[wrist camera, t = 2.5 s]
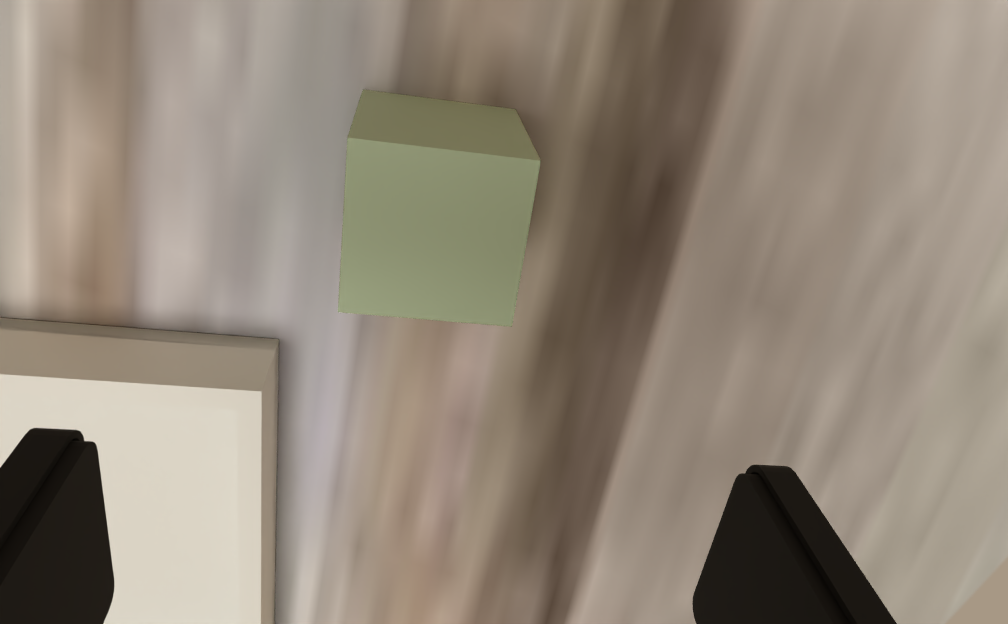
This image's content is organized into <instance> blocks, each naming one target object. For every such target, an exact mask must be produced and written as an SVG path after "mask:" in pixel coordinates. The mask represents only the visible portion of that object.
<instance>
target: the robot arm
mask: <svg viewBox="0 0 1008 624" xmlns="http://www.w3.org/2000/svg"><path fill="white" fill-rule="evenodd" d="M113 594H114V574H113V566H112V558H111V550H110V542H109V535H108V527H107V519H106V511H105V504H104V496H103V488H102V480H101V472H100V465H99V457H98V450H97V445H96V444H95V442H92V441H84V437H83V434H82V433H81V431H79V430H70V429H50V428H33V429H30V430H29V431H28V432H27V433H26V434H25V435H24V437H23V438H22V439H21V441H20V442H19V443H18V445H17V446H16V447H15V449H14V450H13V451H12V453H11V454H10V455H9V457H8V458H7V459H6V461H5V462H4V463H3V465H2V466H1V467H0V624H103V623H104V621H105V618H106V616H107V614H108V612H109V609H110V606H111V603H112V599H113ZM693 613H694V618H695V621H696V623H697V624H897V623H896V622H895V620H894V619H893V617H892V616H891V614H890V613H889V611H888V610H887V608H886V607H885V606H884V604H883V603H882V601H881V600H880V598H879V597H878V595H877V594H876V592H875V591H874V589H873V588H872V586H871V585H870V583H869V582H868V580H867V579H866V577H865V576H864V574H863V573H862V571H861V570H860V568H859V567H858V565H857V564H856V562H855V561H854V559H853V558H852V556H851V555H850V553H849V552H848V550H847V549H846V547H845V546H844V544H843V543H842V541H841V540H840V538H839V537H838V535H837V534H836V533H835V531H834V530H833V528H832V527H831V525H830V524H829V522H828V521H827V519H826V518H825V516H824V515H823V513H822V512H821V510H820V509H819V507H818V506H817V504H816V503H815V501H814V500H813V498H812V497H811V495H810V494H809V492H808V491H807V489H806V488H805V486H804V485H803V483H802V482H801V480H800V479H799V477H798V476H797V474H796V473H795V472H794V471H793V470H792V469H791V468H789V467H787V466H770V465H752V466H750V467H749V468H748V469H747V471H746V473H745V474H739V475H738V476H737V477H736V479H735V482H734V484H733V487H732V490H731V493H730V495H729V498H728V501H727V504H726V507H725V509H724V512H723V515H722V518H721V520H720V523H719V526H718V529H717V531H716V534H715V537H714V540H713V542H712V545H711V548H710V551H709V553H708V556H707V559H706V562H705V564H704V567H703V570H702V573H701V575H700V578H699V581H698V584H697V586H696V589H695V592H694V596H693Z"/></svg>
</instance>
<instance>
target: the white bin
mask: <svg viewBox="0 0 1008 624" xmlns="http://www.w3.org/2000/svg"><path fill="white" fill-rule="evenodd" d="M278 365H279V339H269V338H256V337H243V336H230V335H217V334H204V333H191V332H179V331H166V330H153V329H140V328H127V327H114V326H101V325H88V324H75V323H62V322H49V321H36V320H23V319H10V318H0V467H1V466H2V465H3V463H4V462H5V461H6V459H7V458H8V457H9V455H10V454H11V453H12V451H13V450H14V449H15V447H16V446H17V445H18V443H19V442H20V441H21V439H22V438H23V437H24V435H25V434H26V433H27V432H28V431H29V430H30V429H33V428H50V429H70V430H79V431H81V433H82V434H83V437H84V441H92V442H95V444H96V445H97V450H98V457H99V465H100V472H101V480H102V488H103V496H104V504H105V511H106V519H107V527H108V535H109V542H110V550H111V558H112V566H113V574H114V594H113V599H112V603H111V606H110V609H109V612H108V614H107V616H106V618H105V621H104V623H103V624H275V561H276V496H277V431H278Z"/></svg>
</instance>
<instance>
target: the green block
mask: <svg viewBox="0 0 1008 624" xmlns="http://www.w3.org/2000/svg"><path fill="white" fill-rule="evenodd" d="M540 163H541V160H540V158H539V156H538V154H537V152H536V150H535V148H534V146H533V144H532V142H531V140H530V138H529V136H528V134H527V132H526V130H525V128H524V126H523V124H522V122H521V120H520V118H519V115H518V113H517V111H516V109H510V108H502V107H494V106H487V105H479V104H471V103H464V102H456V101H448V100H440V99H433V98H425V97H417V96H410V95H402V94H394V93H386V92H379V91H371V90H363V91H362V94H361V97H360V100H359V104H358V107H357V110H356V113H355V116H354V119H353V122H352V125H351V128H350V131H349V134H348V138H347V155H346V174H345V192H344V210H343V228H342V246H341V264H340V283H339V301H338V312H342V313H354V314H366V315H378V316H390V317H402V318H414V319H426V320H438V321H450V322H461V323H473V324H485V325H497V326H509V327H512V323H513V317H514V312H515V306H516V300H517V294H518V289H519V283H520V277H521V272H522V266H523V260H524V254H525V249H526V243H527V237H528V231H529V226H530V220H531V214H532V208H533V203H534V197H535V191H536V186H537V180H538V174H539V168H540Z"/></svg>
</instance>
